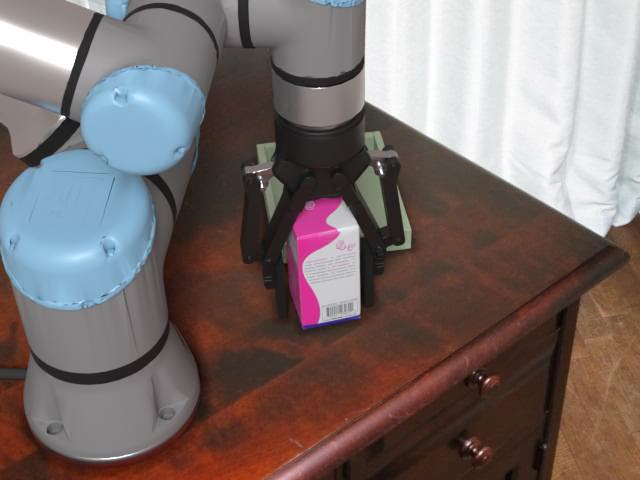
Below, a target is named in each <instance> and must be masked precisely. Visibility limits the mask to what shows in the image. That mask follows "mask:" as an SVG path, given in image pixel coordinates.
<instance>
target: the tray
mask: <svg viewBox="0 0 640 480" xmlns="http://www.w3.org/2000/svg"><path fill="white" fill-rule="evenodd" d="M365 145H366V146H367V148H368V150H377V151H382V149H383V147H385V146H386V145H385V142H384V140H383V137H382V133H381V131H380V130H375V131H365ZM255 146H256V156H257V157H256V159H257V165H259V164H262V163H266V162H269V161H271V157H272V155H273V154H274V152H275V148H276V145H275V141H274V142H266V143H257V144H256V145H255ZM355 183H356V185H357V187H358V189H359V191H360V193H361V194H362V196H363V198H364V200H365V202H366V204H367V205H368V207H369V209H370V211H371V213H372V215H373V216H374V218H375V220H376V222H377V224H378V226H379V227H380V228H382V227H384V226H387V221H386V215H385V209H384V203H383V197H382V191H381V185H380V179H379V176H377V175H376V174H375V173H374V170H373V167H372V166H368V168H367V169H366V170H365V171H364V173H363V174H362V175H361V176H360V177H359V179H358V180H357V181H356V182H355ZM283 186H284V185H283V184H282V183H281V182H280V181H279V180H278V179H277V178H276V177H275V176H274V177H272V178H270V180H269V185H268V187H267V188H266V191H265V192H262V195H263V198H264V199H263V200H264V204H265V205H264V206H265V210H266V216H267V221H268V224H269V223H270V220H271V218H272V216H273V213H274V211H275V209H276V207H277V204H278V202H279V200H280V197H281V195H282V193H283ZM397 189H398V196H399V202H400V208H401V215H402V221H403V228H404V234H405V243H404V244H403V245H401V246H395V245H391V246H389V247H387V248H386V250H387V252H394V251H401V250H409V249H411V248H412V232H413V231H412V226H411V224H410V221H409V218H408V214H407V212H406V208H405V205H404V202H403V199H402V196H401V192H400V189H399V186H398V185H397ZM362 237H365V236H364V234H363V232H362V230H361V229H360V227H359V238H362ZM359 241H360V239H359ZM282 257H283V262H284V265H285V264H288V260H287V245H286V242H285V245H284V247H283V249H282Z"/></svg>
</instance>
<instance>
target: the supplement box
mask: <svg viewBox="0 0 640 480" xmlns="http://www.w3.org/2000/svg"><path fill="white" fill-rule="evenodd" d="M359 239H360V238H359V225H358V223H357V221H356V219H355V218H354V216H353V214H352V213H351V211H350V209H349V207H347V206H346V204H345V202H344V200H343V199H342V197H341V198H334V199H330V198H321V199H318V200H315V201H308V202H306V204H305V206H304V208H303V211H302V212H301V213H299V214H298V216H297V218H296V220H295V223H294V225H293V227H292V229H291V231H290V234H289V236H288V238H287V240H286V245H287V260H288V263H287V273H288V289H289V294H290V296H291V299H292V302H293V306H294V308H295V312H296V315H297V317H298V321H299V323H300V327H301V328H302V330H310V329H311V330H312V329H314V328H320V327H326V326H331V325H334V324H335V325H336V324H341V323H344V322H345V323H346V322H350V321H355V320H360V319H361V308H362V307H361V290H360V241H359Z"/></svg>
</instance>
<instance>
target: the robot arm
mask: <svg viewBox="0 0 640 480" xmlns="http://www.w3.org/2000/svg"><path fill="white" fill-rule="evenodd" d="M104 4H105V14H104V13H100V12H98V11H96V10H93V9H90V8H87V7H85V6H82V5H79V4H77V3H74V2H71V1H69V0H0V123H1V124H2V125H3V126H5V128H7V130H8V133H9V136H10V137H9V138H10V143H11V151H12V155H13V156H14V157H16V158H17V159H18V160H19V161H21V162H22V163H24V164H25V165H26V166H28V167H27V168H25V170H24V171H22V172H21V173H20V174H19V175H18V176H17V177H16V178H15V180H14V181H13V182H12V183H11V184H10V186H9V187H8V189H7V190H6V192H5V194H4V196H3V198H2V201H1V204H0V256H1V261H2V263H3V267H4V270H5V273H6V274H7V276H8V279H9V282H10V285H11V288H12V289H11V290H12V293H13V296H14V299H15V302H16V306H17V309H18V313H19V316H20V319H21V323H22V327H23V330H24V334H25V337H26V341H27V343H28V348H29V351H30V352H29V358H28V363H27V368H17V367H0V380H13V381H14V380H15V381H16V380H18V381H24V385H23V393H22V394H23V395H22V396H23V409H24V415H25V419H26V422H27V425H28V427H29V430H30V433H31V435H32V436H33V438H34V440H35V441H36V442H37V444H39V446H40V447H41V448H42V449H43V450H44V451H45V452H47V453H48V454H50V456H53V457H54V458H56V459H58V460H60V461H62V462H65V463H67V464H69V465H73V466H77V467H81V468H82V467H83V468H88V469H112V468H113V469H114V468H120V467H125V466H131V465H133V464H137V463H139V462H142V461H146V460H147V459H150V458H152V457H154V456H156V455H159V453H161V452H163V451H164V450H166V449H168V447H170V446H172V445H173V444H174V443H175V442H176V441H177V440H178V439H179V438H180V437H181V436H182V435H183V434H184V433H185V432H186V431H187V429H189V427H190V425H191V424H192V422H193V421H194V419H195V417H196V415H197V413H198V410H199V407H200V402H201V396H202V386H201V379H200V373H199V368H198V365H197V363H196V360H195V357H194V355H193V353H192V351H191V349H190V348H189V345H188V343H186V341H185V339H184V337H183V336H182V333H181V332H180V331H179V329H178V328H177V326H176V324H175V323H174V321H172V320H171V319H170V315H169V308H168V303H167V302H168V301H167V296H166V289H165V283H164V265H165V260H166V256H167V253H168V250H169V246H170V242H171V239H172V236H173V231H174V229H175V226H176V223H177V220H178V218H179V214H180V211H181V208H182V204H183V201H184V198H185V194H186V192H187V188H188V185H189V181H190V179H191V177H192V175H193V173H194V171H195V168H196V165H197V161H198V155H199V150H198V149H199V148H198V147H199V142H200V135H201V127H200V126H201V125H202V124H203V121H204V118H205V115H206V103H207V100H208V96H209V92H210V89H211V85H212V83H213V78H214V76H215V73H216V70H217V67H218V65H219V62H220V59H221V56H222V53H223V49H253V50H254V49H269V53H270V66H271V84H272V85H271V86H272V87H271V89H272V105H273V126H274V142H275V145H276V148H275V152H274V154H273V155H272V157H271V161H269V162H266V163H262V164H259V165H258V164H255V163H254V162H253V161H252V160H245V161H243V162H242V163H241V164H240V173H241V177H242V184H243V187H244V197H243V198H244V199H243V206H242V217H241V218H242V219H241V225H240V238H239V245H240V252H241V257H242V262H243V263H244V264H246V265H252V264H254V263H260V265H261V274H262V281H263V286H264V287H265V289H266V290H272V289H274V291H275V302H276V306H277V308H276V309H277V313H278V318H279V319H284V318H288V308H287V306H288V305H287V289H286V288H287V287H286V270H285V264H284V262H283V257H282V249H283V247H284V245H285V242H286V240H287V238H288V236H289V234H290V231H291V229H292V227H293V225H294V223H295V220H296V218H297V216H298V214H299V213H301V212H302V211H303V208H304V206H305V204H306V202H308V201H315V200H318V199H321V198H330V199H334V198H341V197H342V199H343V200H344V202H345V204H346V206H347V207H349V209H350V211H351V213H352V214H353V216H354V218H355V219H356V221H357V223H358V225H359V227H360V229H361V230H362V232H363V234H364V236H365V237H362V238H360V294H361V298H362V301H363V305H364V308H371V307H374V277H375V276H383V274H384V272H385V259H386V257H388V251H387V250H386V248H387V247H389V246H391V245H395V246H401V245H403V244H404V243H405V234H404V228H403V221H402V215H401V208H400V202H399V196H398V189H399V188H398V189H397V186H398V183H397V182H398V180H399V176H400V172H401V168H402V164H401V161H400V159H399V156H398V152H397V149H396V147H395V145H394V144H393V145H392V144H386V145H385V147H383V149H382V151H377V150H368V148H367V146H366V145H365V132H366V109H365V108H366V107H365V104H366V25H367V23H366V21H367V0H104ZM368 166H372V167H373V170H374V173H375V174H376V175H377V176H379V179H380V185H381V191H382V197H383V203H384V209H385V215H386V221H387V226H384V227H382V228H380V227H379V226H378V224H377V222H376V220H375V218H374V216H373V215H372V213H371V211H370V209H369V207H368V205H367V204H366V202H365V200H364V198H363V196H362V194H361V193H360V191H359V189H358V187H357V185H356V183H355V182H356V181H357V180H358V179H359V177H360V176H361V175H362V174H363V173H364V171H365V170H366V169H367V168H368ZM274 176H275V177H276V178H277V179H278V180H279V181H280V182H281V183H282V184H283V185H284V186H283V193H282V195H281V197H280V200H279V202H278V204H277V207H276V209H275V211H274V213H273V216H272V218H271V220H270V223H269V222H268V225H267V227H266V229H265V232H264V234H263V236H262V239H261V237H260V229H261V221H262V220H261V219H262V211H263V202H264V201H263V200H264V199H263V192H265V191H266V188H267V187H268V185H269V180H270V178H272V177H274Z"/></svg>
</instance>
